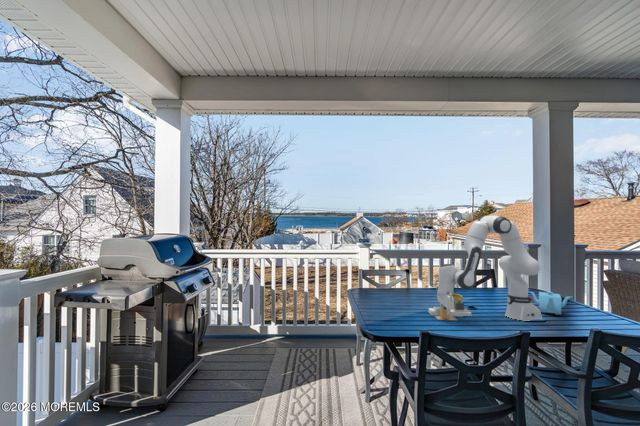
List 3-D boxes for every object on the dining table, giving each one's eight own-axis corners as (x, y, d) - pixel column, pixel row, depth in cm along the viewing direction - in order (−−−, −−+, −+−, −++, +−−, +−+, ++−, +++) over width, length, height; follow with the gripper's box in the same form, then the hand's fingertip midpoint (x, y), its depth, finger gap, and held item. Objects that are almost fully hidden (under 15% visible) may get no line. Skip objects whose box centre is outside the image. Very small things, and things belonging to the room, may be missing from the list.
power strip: (466, 313, 219) (467, 308, 219) (471, 316, 212) (471, 310, 212) (428, 312, 220) (428, 306, 220) (431, 315, 213) (431, 309, 213)
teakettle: (527, 306, 243) (527, 286, 243) (570, 312, 230) (570, 291, 231) (528, 314, 222) (528, 292, 222) (575, 321, 209) (575, 298, 209)
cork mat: (453, 317, 210) (453, 316, 210) (457, 320, 203) (457, 319, 203) (434, 316, 211) (434, 315, 211) (437, 319, 204) (437, 318, 204)
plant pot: (463, 312, 223) (464, 297, 223) (447, 310, 225) (447, 296, 225) (460, 308, 233) (460, 294, 233) (444, 306, 235) (445, 292, 235)
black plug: (461, 310, 218) (462, 298, 218) (464, 311, 214) (464, 300, 214) (454, 310, 218) (454, 298, 218) (456, 311, 214) (456, 299, 215)
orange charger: (448, 316, 209) (448, 304, 209) (450, 318, 205) (450, 306, 205) (439, 316, 209) (440, 304, 209) (441, 318, 205) (442, 306, 206)
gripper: (457, 294, 197) (456, 317, 197) (445, 287, 217) (444, 308, 217) (446, 293, 197) (445, 317, 197) (435, 286, 218) (435, 308, 217)
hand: (445, 312), depth 207 cm, fingers open, 8 cm apart
